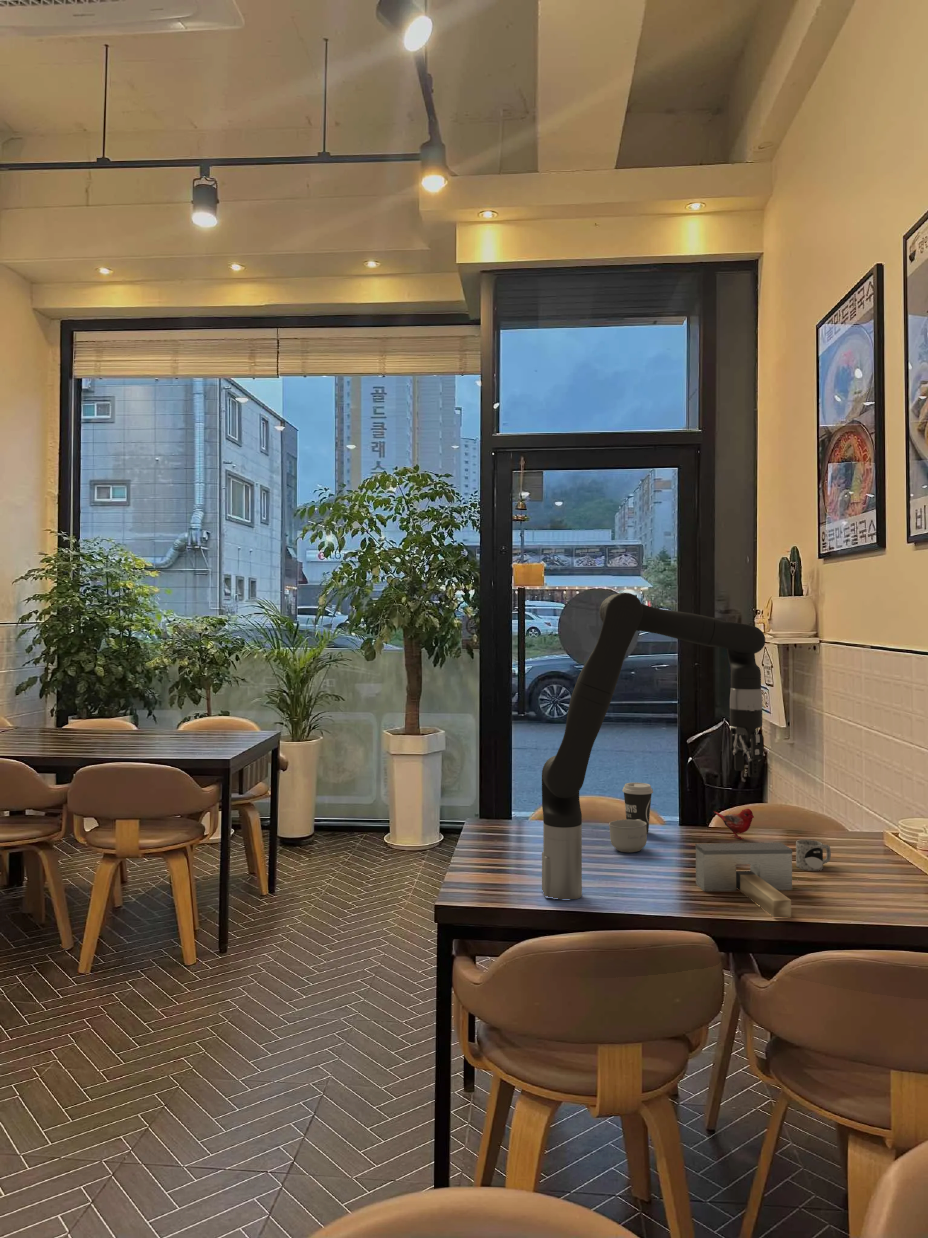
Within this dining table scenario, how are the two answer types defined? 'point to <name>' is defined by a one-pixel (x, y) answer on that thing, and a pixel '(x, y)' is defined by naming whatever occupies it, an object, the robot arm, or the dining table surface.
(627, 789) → the coffee cup
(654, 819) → the dining table surface
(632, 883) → the dining table surface
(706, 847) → the block
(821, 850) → the mug
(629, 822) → the teacup
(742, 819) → the decorative bird figurine
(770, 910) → the bar
